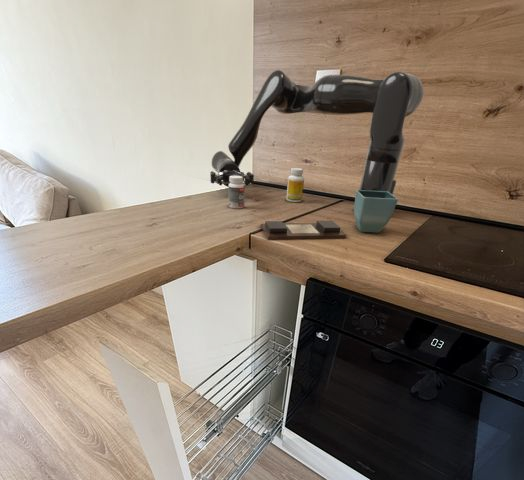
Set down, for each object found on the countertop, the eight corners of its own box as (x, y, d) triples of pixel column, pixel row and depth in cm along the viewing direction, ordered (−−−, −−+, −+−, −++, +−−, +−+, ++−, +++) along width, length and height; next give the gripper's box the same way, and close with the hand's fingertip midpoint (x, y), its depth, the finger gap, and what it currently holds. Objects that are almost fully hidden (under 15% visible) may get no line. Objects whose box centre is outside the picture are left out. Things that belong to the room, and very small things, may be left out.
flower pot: (348, 224, 86) (355, 189, 81) (378, 226, 86) (388, 191, 81) (354, 234, 79) (363, 196, 74) (387, 236, 79) (399, 199, 74)
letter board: (331, 225, 84) (332, 218, 83) (345, 238, 77) (346, 230, 76) (260, 226, 81) (260, 218, 80) (268, 239, 73) (268, 231, 72)
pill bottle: (241, 209, 93) (241, 178, 88) (227, 208, 94) (226, 177, 89) (245, 205, 97) (245, 176, 92) (231, 204, 97) (230, 174, 92)
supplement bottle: (284, 198, 107) (287, 167, 101) (298, 198, 108) (302, 167, 102) (288, 202, 103) (291, 170, 97) (303, 202, 104) (307, 170, 98)
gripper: (208, 160, 105) (210, 167, 93) (248, 161, 107) (256, 168, 95) (209, 184, 110) (212, 194, 97) (248, 184, 112) (255, 195, 100)
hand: (234, 181), depth 96 cm, fingers open, 8 cm apart
